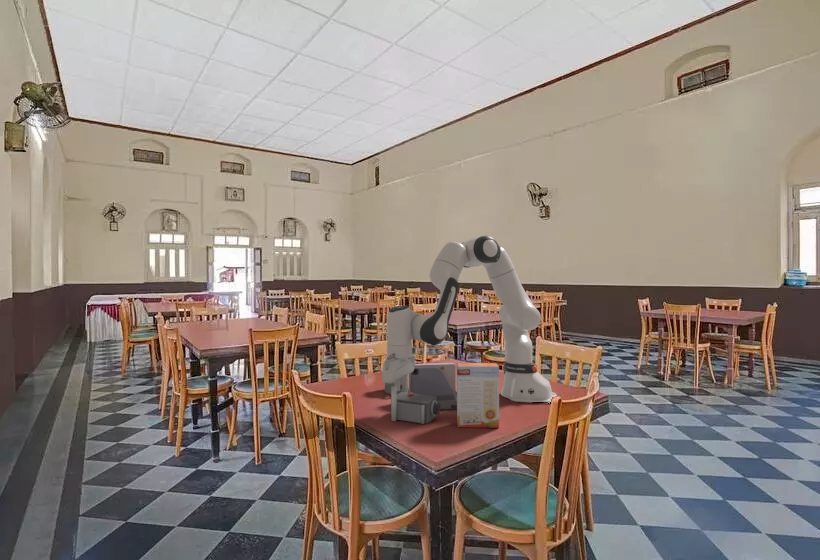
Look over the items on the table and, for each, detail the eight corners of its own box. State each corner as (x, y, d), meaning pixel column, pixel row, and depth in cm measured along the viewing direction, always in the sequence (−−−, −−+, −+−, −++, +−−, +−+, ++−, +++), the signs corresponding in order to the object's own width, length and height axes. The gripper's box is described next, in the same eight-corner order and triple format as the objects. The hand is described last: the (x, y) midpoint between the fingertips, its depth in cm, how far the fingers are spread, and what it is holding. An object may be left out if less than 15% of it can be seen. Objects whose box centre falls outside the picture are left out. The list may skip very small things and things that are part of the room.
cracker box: (496, 422, 152) (497, 362, 151) (499, 428, 146) (499, 366, 145) (456, 421, 152) (456, 361, 152) (457, 427, 146) (457, 365, 146)
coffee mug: (385, 388, 194) (385, 365, 194) (407, 388, 194) (407, 365, 194) (383, 397, 181) (383, 373, 181) (407, 397, 181) (407, 373, 181)
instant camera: (457, 395, 184) (457, 360, 183) (462, 412, 163) (462, 372, 163) (407, 395, 184) (407, 359, 184) (405, 411, 164) (405, 371, 163)
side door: (425, 422, 150) (424, 388, 150) (421, 425, 148) (421, 391, 148) (394, 418, 155) (393, 385, 155) (390, 420, 153) (390, 387, 152)
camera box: (441, 416, 158) (441, 394, 158) (433, 424, 149) (433, 401, 149) (401, 410, 164) (401, 389, 164) (390, 418, 156) (390, 396, 156)
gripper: (394, 357, 146) (394, 398, 146) (417, 347, 164) (417, 383, 165) (377, 356, 148) (377, 396, 149) (402, 346, 167) (402, 382, 167)
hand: (398, 389), depth 157 cm, fingers closed
